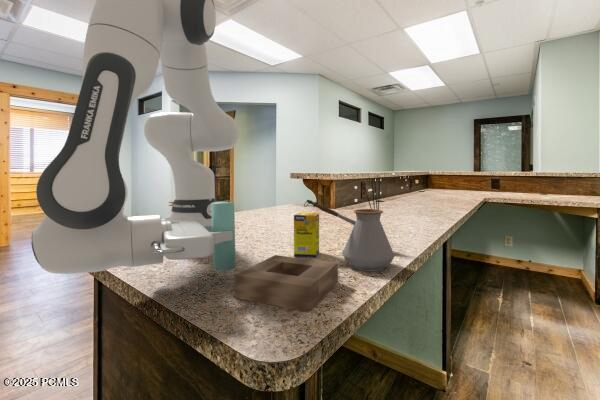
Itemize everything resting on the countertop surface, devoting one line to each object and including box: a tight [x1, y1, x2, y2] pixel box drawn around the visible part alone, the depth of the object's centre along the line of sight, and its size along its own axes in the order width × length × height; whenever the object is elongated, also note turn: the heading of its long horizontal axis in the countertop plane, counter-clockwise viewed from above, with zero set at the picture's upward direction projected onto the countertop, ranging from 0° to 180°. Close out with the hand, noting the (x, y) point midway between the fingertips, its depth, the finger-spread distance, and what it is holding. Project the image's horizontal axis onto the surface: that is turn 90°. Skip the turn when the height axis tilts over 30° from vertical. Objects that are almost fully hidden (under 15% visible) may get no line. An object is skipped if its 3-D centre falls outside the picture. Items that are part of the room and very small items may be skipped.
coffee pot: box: [303, 199, 395, 272], centre depth 72 cm, size 21×12×15 cm, turn 66°
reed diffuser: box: [361, 177, 381, 210], centre depth 85 cm, size 10×7×20 cm
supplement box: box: [293, 211, 320, 259], centre depth 81 cm, size 6×6×11 cm
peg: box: [211, 201, 237, 272], centre depth 61 cm, size 4×4×13 cm
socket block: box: [234, 254, 339, 313], centre depth 56 cm, size 14×14×4 cm
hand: (228, 232), depth 61 cm, fingers closed on peg, 4 cm apart
